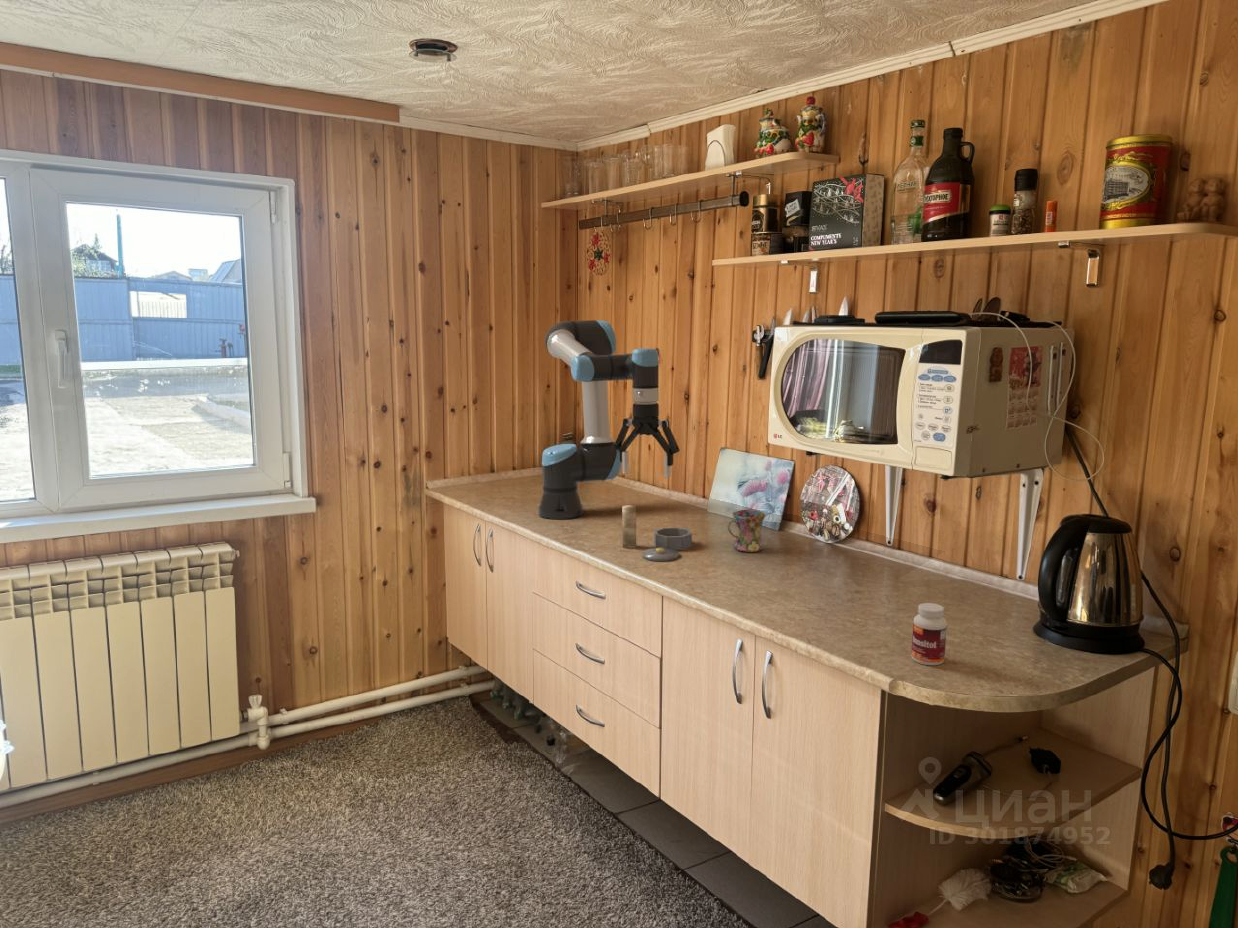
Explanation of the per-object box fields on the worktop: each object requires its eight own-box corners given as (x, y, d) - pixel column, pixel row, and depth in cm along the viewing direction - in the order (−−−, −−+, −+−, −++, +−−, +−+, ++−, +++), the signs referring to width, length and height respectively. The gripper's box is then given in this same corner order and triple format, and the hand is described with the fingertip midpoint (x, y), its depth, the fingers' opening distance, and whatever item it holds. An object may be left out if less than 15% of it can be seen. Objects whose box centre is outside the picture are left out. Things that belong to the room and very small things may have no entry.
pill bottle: (905, 660, 169) (908, 607, 167) (918, 651, 174) (921, 599, 172) (937, 669, 165) (940, 614, 163) (949, 659, 169) (952, 606, 167)
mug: (751, 543, 253) (752, 508, 251) (771, 551, 245) (772, 514, 243) (718, 549, 247) (718, 513, 245) (737, 557, 239) (737, 520, 237)
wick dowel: (619, 547, 251) (619, 507, 249) (628, 544, 254) (628, 504, 252) (630, 549, 248) (629, 509, 246) (639, 546, 251) (638, 506, 249)
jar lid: (635, 557, 241) (635, 549, 240) (657, 549, 248) (657, 541, 248) (663, 563, 234) (663, 555, 234) (685, 555, 242) (685, 547, 241)
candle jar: (647, 546, 251) (647, 532, 251) (669, 538, 259) (669, 525, 258) (676, 552, 244) (676, 539, 244) (698, 544, 252) (698, 531, 252)
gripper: (601, 402, 250) (602, 473, 254) (680, 405, 238) (680, 480, 242) (613, 399, 256) (614, 469, 260) (690, 403, 245) (690, 476, 249)
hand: (646, 475), depth 251 cm, fingers open, 13 cm apart
